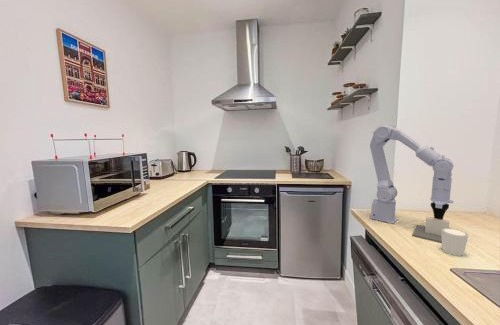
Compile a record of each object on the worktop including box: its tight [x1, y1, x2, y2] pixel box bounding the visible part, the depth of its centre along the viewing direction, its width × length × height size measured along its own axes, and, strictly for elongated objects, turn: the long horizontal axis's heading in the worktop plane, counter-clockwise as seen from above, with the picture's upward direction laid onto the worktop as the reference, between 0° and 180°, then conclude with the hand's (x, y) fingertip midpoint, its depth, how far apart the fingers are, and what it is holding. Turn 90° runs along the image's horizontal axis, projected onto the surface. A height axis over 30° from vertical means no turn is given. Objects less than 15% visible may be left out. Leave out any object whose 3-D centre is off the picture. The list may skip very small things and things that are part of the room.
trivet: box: [411, 224, 442, 244], centre depth 89 cm, size 13×13×1 cm
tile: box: [425, 216, 451, 236], centre depth 89 cm, size 7×2×6 cm, turn 47°
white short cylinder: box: [441, 227, 469, 257], centre depth 77 cm, size 7×7×7 cm
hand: (438, 221), depth 93 cm, fingers closed
